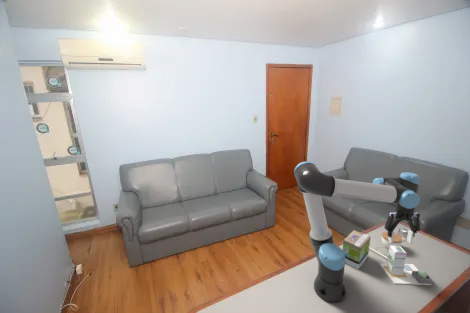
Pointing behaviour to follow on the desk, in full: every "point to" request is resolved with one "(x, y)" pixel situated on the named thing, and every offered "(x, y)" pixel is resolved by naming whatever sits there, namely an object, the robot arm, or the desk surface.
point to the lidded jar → (396, 240)
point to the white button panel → (407, 276)
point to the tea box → (356, 248)
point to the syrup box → (396, 260)
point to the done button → (422, 274)
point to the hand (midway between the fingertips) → (399, 241)
